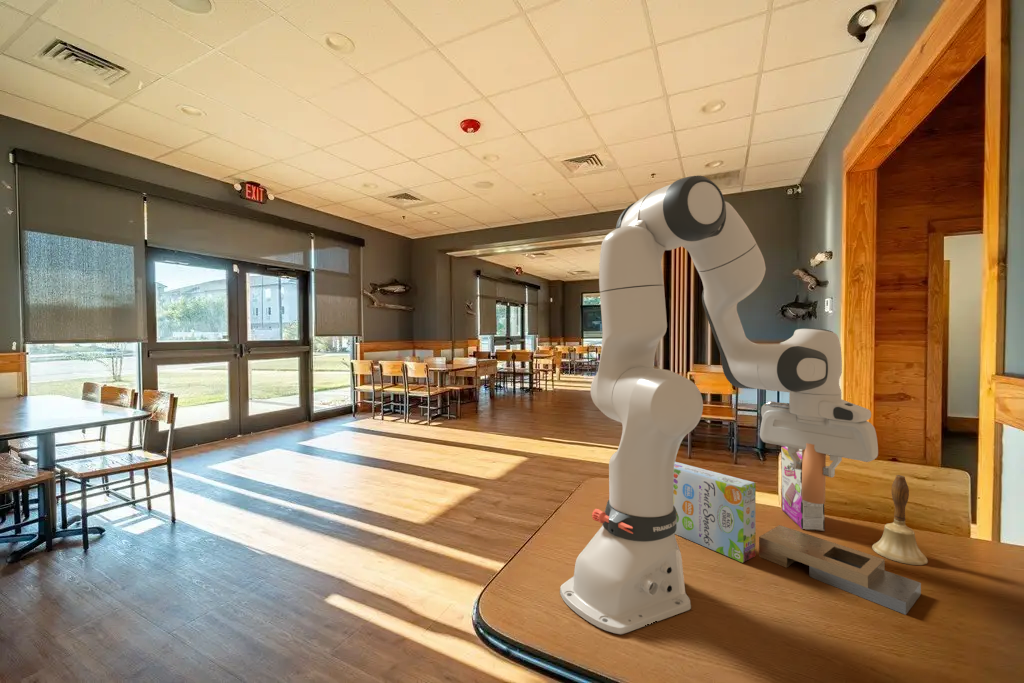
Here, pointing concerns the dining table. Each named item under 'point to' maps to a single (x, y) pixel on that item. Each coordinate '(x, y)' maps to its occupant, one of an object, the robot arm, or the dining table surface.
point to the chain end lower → (876, 588)
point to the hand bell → (899, 531)
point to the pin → (813, 475)
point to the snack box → (715, 511)
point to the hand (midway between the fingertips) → (813, 472)
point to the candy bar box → (798, 496)
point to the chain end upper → (819, 555)
